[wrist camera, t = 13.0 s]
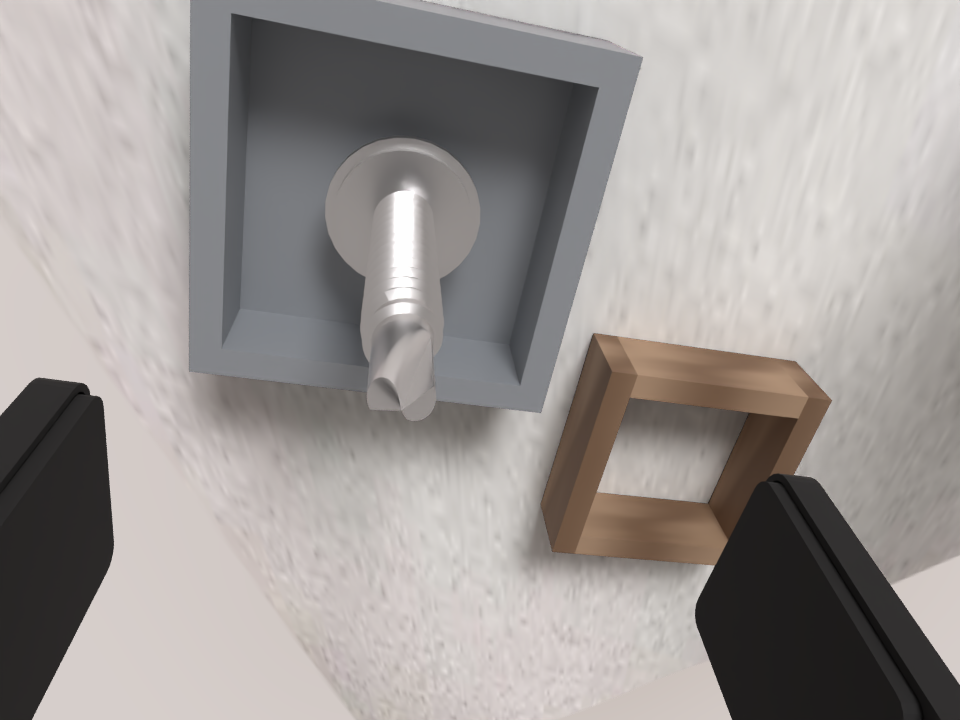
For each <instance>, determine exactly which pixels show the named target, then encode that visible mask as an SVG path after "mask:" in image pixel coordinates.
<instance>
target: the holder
mask: <svg viewBox="0 0 960 720" xmlns="http://www.w3.org/2000/svg"><path fill="white" fill-rule="evenodd" d="M630 398H637V399H645V400H653V401H661V402H669V403H677V404H685V405H693V406H701V407H709V408H717V409H725V410H733V411H741V412H749V415H748V418H747V420H746V422H745V424H744V426H743V429H742V431H741V433H740V435H739V437H738V440H737V442H736V444H735V446H734V448H733V451H732V453H731V455H730V457H729V459H728V462H727V464H726V466H725V468H724V470H723V473H722V475H721V477H720V479H719V481H718V484H717V486H716V488H715V490H714V492H713V495H712V497H711V499H710V501H709V503H708V504H706V503H696V502H686V501H676V500H666V499H656V498H646V497H636V496H626V495H616V494H606V493H596V492H597V489H598V486H599V483H600V481H601V478H602V475H603V472H604V469H605V467H606V464H607V461H608V458H609V455H610V452H611V450H612V447H613V444H614V441H615V438H616V435H617V433H618V430H619V427H620V424H621V421H622V419H623V416H624V413H625V410H626V407H627V404H628V402H629V399H630ZM831 401H832V400H831V399H830V398H829V397H828V396H827V394H826V393H825V392H824V391H823V390H822V389H821V388H820V387H819V386H818V385H817V384H816V383H815V382H814V381H813V379H812V378H811V377H810V376H809V375H808V374H807V373H806V372H805V371H804V370H803V369H802V368H801V367H800V366H799V365H798V363H797V362H795V361H788V360H781V359H774V358H767V357H760V356H752V355H745V354H738V353H731V352H724V351H717V350H710V349H702V348H695V347H688V346H681V345H674V344H667V343H660V342H652V341H645V340H638V339H631V338H624V337H617V336H610V335H602V334H595V333H594V334H593V337H592V340H591V344H590V347H589V350H588V353H587V356H586V360H585V363H584V366H583V369H582V373H581V376H580V379H579V382H578V386H577V389H576V392H575V395H574V399H573V402H572V405H571V408H570V411H569V415H568V418H567V421H566V424H565V428H564V431H563V434H562V437H561V441H560V444H559V447H558V450H557V453H556V457H555V460H554V463H553V466H552V470H551V473H550V476H549V479H548V483H547V486H546V489H545V492H544V496H543V499H542V502H541V507H542V512H543V516H544V520H545V524H546V528H547V532H548V536H549V541H550V545H551V549H552V552H561V553H573V554H585V555H597V556H609V557H621V558H633V559H645V560H657V561H669V562H681V563H692V564H704V565H716V563H717V561H718V559H719V557H720V555H721V553H722V551H723V549H724V547H725V545H726V544H727V542H728V540H729V538H730V536H731V534H732V532H733V530H734V528H735V526H736V524H737V522H738V520H739V518H740V516H741V514H742V512H743V510H744V508H745V506H746V504H747V502H748V500H749V498H750V496H751V494H752V493H753V491H754V489H755V487H756V486H757V484H758V483H760V482H763V481H766V480H767V479H768V477H770V476H771V475H773V474H777V473H780V474H787V475H794V473H795V471H796V469H797V467H798V465H799V463H800V461H801V460H802V458H803V456H804V454H805V452H806V450H807V448H808V446H809V444H810V442H811V440H812V438H813V436H814V434H815V432H816V430H817V428H818V427H819V425H820V423H821V421H822V419H823V417H824V415H825V413H826V411H827V409H828V407H829V405H830V403H831Z"/></svg>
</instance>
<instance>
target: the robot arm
mask: <svg viewBox="0 0 960 720" xmlns="http://www.w3.org/2000/svg"><path fill="white" fill-rule="evenodd" d="M106 446H107V445H106V432H105V419H104V406H103V401H102V399H101V398H100V397H98V396H91V395H90V391H89V389H88V387H87V385H85V384H83V383H77V382H69V381H61V380H53V379H46V378H36V379H34V380H33V381H32V382H30V383H29V384H28V385H27V387H26V388H25V389H24V390H23V391H22V392H21V393H20V394H19V396H18V397H17V398H16V399H15V400H14V401H13V402H12V403H11V404H10V406H9V407H8V408H7V409H6V410H5V411H4V412H3V413H2V415H1V416H0V720H32V718H33V716H34V714H35V712H36V710H37V708H38V706H39V704H40V702H41V700H42V699H43V696H44V695H45V693H46V691H47V689H48V687H49V685H50V683H51V681H52V679H53V677H54V675H55V673H56V671H57V669H58V667H59V665H60V663H61V661H62V659H63V657H64V655H65V653H66V651H67V649H68V647H69V646H70V644H71V642H72V640H73V638H74V636H75V634H76V632H77V630H78V628H79V626H80V624H81V622H82V620H83V618H84V616H85V614H86V612H87V610H88V608H89V606H90V604H91V602H92V600H93V598H94V596H95V594H96V593H97V590H98V588H99V587H100V585H101V583H102V581H103V579H104V577H105V575H106V573H107V571H108V568H109V566H110V563H111V560H112V555H113V549H114V539H113V524H112V511H111V498H110V485H109V472H108V459H107V447H106ZM695 619H696V624H697V628H698V630H699V633H700V636H701V638H702V641H703V644H704V646H705V649H706V652H707V654H708V657H709V660H710V662H711V665H712V668H713V670H714V673H715V675H716V678H717V681H718V683H719V686H720V689H721V691H722V694H723V697H724V699H725V702H726V705H727V707H728V710H729V713H730V715H731V718H732V720H960V685H959V683H958V682H957V680H956V679H955V678H954V676H953V675H952V673H951V672H950V671H949V669H948V667H947V666H946V665H945V663H944V662H943V660H942V659H941V657H940V656H939V655H938V653H937V652H936V650H935V649H934V647H933V646H932V644H931V643H930V642H929V640H928V639H927V637H926V636H925V634H924V633H923V632H922V630H921V629H920V627H919V626H918V624H917V623H916V621H915V620H914V619H913V617H912V616H911V614H910V613H909V611H908V610H907V608H906V607H905V606H904V604H903V603H902V601H901V600H900V599H899V597H898V596H897V594H896V593H895V591H894V590H893V588H892V587H891V585H890V584H889V583H888V581H887V580H886V578H885V577H884V575H883V574H882V572H881V571H880V570H879V568H878V567H877V565H876V564H875V562H874V561H873V560H872V558H871V557H870V555H869V554H868V552H867V551H866V549H865V548H864V547H863V545H862V544H861V542H860V541H859V539H858V538H857V537H856V535H855V534H854V532H853V531H852V529H851V528H850V526H849V525H848V524H847V522H846V521H845V519H844V518H843V516H842V515H841V514H840V512H839V511H838V509H837V508H836V506H835V505H834V503H833V502H832V501H831V499H830V498H829V496H828V495H827V493H826V492H825V490H824V489H823V488H822V486H821V485H820V484H819V483H818V482H817V481H816V480H815V479H813V478H810V477H803V476H795V475H787V474H780V473H777V474H773V475H771V476H770V477H768V479H767V480H766V481H763V482H760V483H758V484H757V486H756V487H755V489H754V491H753V493H752V494H751V496H750V498H749V500H748V502H747V504H746V506H745V508H744V510H743V512H742V514H741V516H740V518H739V520H738V522H737V524H736V526H735V528H734V530H733V532H732V534H731V536H730V538H729V540H728V542H727V544H726V545H725V547H724V549H723V551H722V553H721V555H720V557H719V559H718V561H717V563H716V565H715V567H714V569H713V571H712V573H711V575H710V577H709V579H708V581H707V583H706V585H705V587H704V589H703V591H702V593H701V595H700V596H699V598H698V601H697V603H696V609H695Z"/></svg>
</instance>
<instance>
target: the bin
mask: <svg viewBox="0 0 960 720" xmlns="http://www.w3.org/2000/svg"><path fill="white" fill-rule="evenodd" d="M642 59H643V57H642V56H639V55H637V54H635V53H633V52H631V51H629V50H627V49H625V48H623V47H620V46H618V45H616V44H614V43H612V42H610V41H607V40H603V39H598V38H593V37H589V36H584V35H579V34H575V33H570V32H565V31H561V30H556V29H552V28H547V27H542V26H538V25H533V24H528V23H524V22H519V21H514V20H510V19H505V18H500V17H496V16H491V15H487V14H482V13H477V12H473V11H468V10H463V9H459V8H454V7H449V6H445V5H440V4H435V3H431V2H426V1H422V0H190V256H189V371H190V372H198V373H207V374H215V375H224V376H232V377H241V378H249V379H258V380H266V381H275V382H283V383H292V384H300V385H308V386H317V387H325V388H334V389H342V390H351V391H359V392H367V386H368V374H369V362H368V360H367V358H366V356H365V354H364V351H363V347H362V338H361V333H360V323H361V310H362V303H363V296H364V287H365V278H366V277H365V276H363V275H361V274H359V273H358V272H356V271H355V270H354V269H353V268H352V267H351V266H350V265H348V264H347V263H346V262H345V261H344V260H343V258H342V257H341V255H340V254H339V253H338V251H337V250H336V249H335V247H334V245H333V242H332V240H331V238H330V236H329V234H328V229H327V224H326V219H325V201H326V197H327V193H328V189H329V185H330V182H331V180H332V178H333V176H334V175H335V173H336V171H337V169H338V167H339V166H340V165H341V164H342V163H343V161H344V160H345V159H346V158H347V157H348V156H349V155H350V154H351V153H352V152H354V151H355V150H357V149H358V148H359V147H361V146H362V145H364V144H366V143H369V142H371V141H374V140H376V139H378V138H383V137H389V136H395V135H400V136H415V137H418V138H422V139H426V140H429V141H432V142H434V143H436V144H437V145H439V146H441V147H443V148H445V149H447V150H448V151H449V152H450V153H451V154H452V155H454V156H455V157H456V158H457V159H458V160H459V161H460V162H461V163H462V165H463V166H464V167H465V169H466V170H467V171H468V173H469V174H470V176H471V179H472V181H473V183H474V185H475V187H476V190H477V194H478V199H479V204H480V225H479V229H478V234H477V238H476V240H475V242H474V244H473V246H472V248H471V250H470V252H469V254H468V255H467V256H466V258H465V259H464V260H463V261H462V262H461V264H460V265H459V266H458V267H456V268H455V269H454V270H453V271H451V272H450V273H449V274H448V275H446V276H444V277H442V278H440V286H441V296H442V306H443V317H444V328H443V341H442V345H441V347H440V349H439V351H438V352H437V354H436V355H435V356H434V370H435V386H436V401H444V402H452V403H461V404H469V405H478V406H486V407H495V408H503V409H512V410H520V411H529V412H537V413H541V412H542V408H543V405H544V401H545V398H546V394H547V391H548V387H549V384H550V380H551V377H552V373H553V370H554V366H555V363H556V359H557V356H558V352H559V349H560V345H561V342H562V338H563V335H564V331H565V328H566V324H567V321H568V317H569V314H570V310H571V307H572V303H573V300H574V296H575V293H576V290H577V286H578V283H579V279H580V276H581V272H582V269H583V265H584V262H585V258H586V255H587V251H588V248H589V244H590V241H591V237H592V234H593V230H594V227H595V223H596V220H597V216H598V213H599V209H600V206H601V202H602V199H603V195H604V192H605V188H606V185H607V181H608V178H609V174H610V171H611V168H612V164H613V161H614V157H615V154H616V150H617V147H618V143H619V140H620V136H621V133H622V129H623V126H624V122H625V119H626V115H627V112H628V108H629V105H630V101H631V98H632V94H633V91H634V87H635V84H636V80H637V77H638V73H639V70H640V66H641V63H642Z"/></svg>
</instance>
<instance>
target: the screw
mask: <svg viewBox="0 0 960 720" xmlns="http://www.w3.org/2000/svg"><path fill="white" fill-rule="evenodd" d="M325 219H326V224H327V229H328V234H329V236H330V238H331V240H332V242H333V245H334V247H335V249H336V250H337V251H338V253H339V254H340V255H341V257H342V258H343V260H344V261H345V262H346V263H347V264H348V265H350V266H351V267H352V268H353V269H354V270H355V271H356V272H358V273H359V274H361V275H363V276H365V277H366V278H365V287H364V296H363V303H362V310H361V323H360V333H361V338H362V347H363V351H364V354H365V356H366V358H367V360H368V362H369V374H368V386H367V404H368V406H369V409H370V410H386V411H402V413H403V415H404V417H405V418H406V419H407V420H410V421H419V420H422V419H424V418H426V417H427V416H429V415H430V413H431V412H432V410H433V408H434V407H435V403H436V386H435V370H434V356H435V355H436V354H437V352H438V351H439V349H440V347H441V345H442V341H443V328H444V317H443V306H442V296H441V286H440V278H442V277H444V276H446V275H448V274H449V273H450V272H451V271H453V270H454V269H455V268H456V267H458V266H459V265H460V264H461V262H462V261H463V260H464V259H465V258H466V256H467V255H468V254H469V252H470V250H471V248H472V246H473V244H474V242H475V240H476V238H477V234H478V229H479V225H480V204H479V199H478V194H477V190H476V187H475V185H474V183H473V181H472V179H471V176H470V174H469V173H468V171H467V170H466V169H465V167H464V166H463V165H462V163H461V162H460V161H459V160H458V159H457V158H456V157H455V156H454V155H452V154H451V153H450V152H449V151H448V150H447V149H445V148H443V147H441V146H439V145H437V144H436V143H434V142H432V141H429V140H426V139H422V138H418V137H415V136H400V135H395V136H389V137H383V138H378V139H376V140H374V141H371V142H369V143H366V144H364V145H362V146H361V147H359V148H358V149H357V150H355V151H354V152H352V153H351V154H350V155H349V156H348V157H347V158H346V159H345V160H344V161H343V163H342V164H341V165H340V166H339V167H338V169H337V171H336V173H335V175H334V176H333V178H332V180H331V182H330V185H329V189H328V193H327V197H326V201H325Z"/></svg>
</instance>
